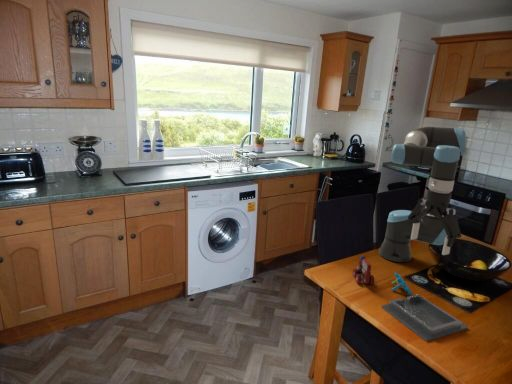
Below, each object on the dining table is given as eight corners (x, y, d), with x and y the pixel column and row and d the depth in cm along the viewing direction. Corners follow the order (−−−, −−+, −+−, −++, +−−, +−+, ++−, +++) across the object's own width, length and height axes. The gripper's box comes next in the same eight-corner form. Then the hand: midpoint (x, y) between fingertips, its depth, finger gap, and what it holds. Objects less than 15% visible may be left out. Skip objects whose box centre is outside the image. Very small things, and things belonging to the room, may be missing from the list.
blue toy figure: (416, 298, 133) (400, 278, 132) (402, 305, 134) (387, 286, 134) (409, 284, 143) (394, 266, 142) (396, 291, 145) (382, 273, 144)
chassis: (420, 298, 135) (421, 291, 134) (468, 328, 117) (469, 321, 116) (381, 307, 127) (382, 300, 126) (426, 341, 109) (427, 333, 108)
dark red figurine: (366, 274, 152) (369, 252, 150) (374, 288, 140) (378, 265, 138) (350, 273, 152) (353, 251, 150) (358, 287, 140) (361, 264, 138)
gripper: (403, 182, 127) (395, 234, 133) (466, 201, 106) (452, 263, 111) (418, 181, 130) (409, 232, 136) (482, 199, 109) (467, 259, 114)
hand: (428, 246), depth 124 cm, fingers open, 13 cm apart
